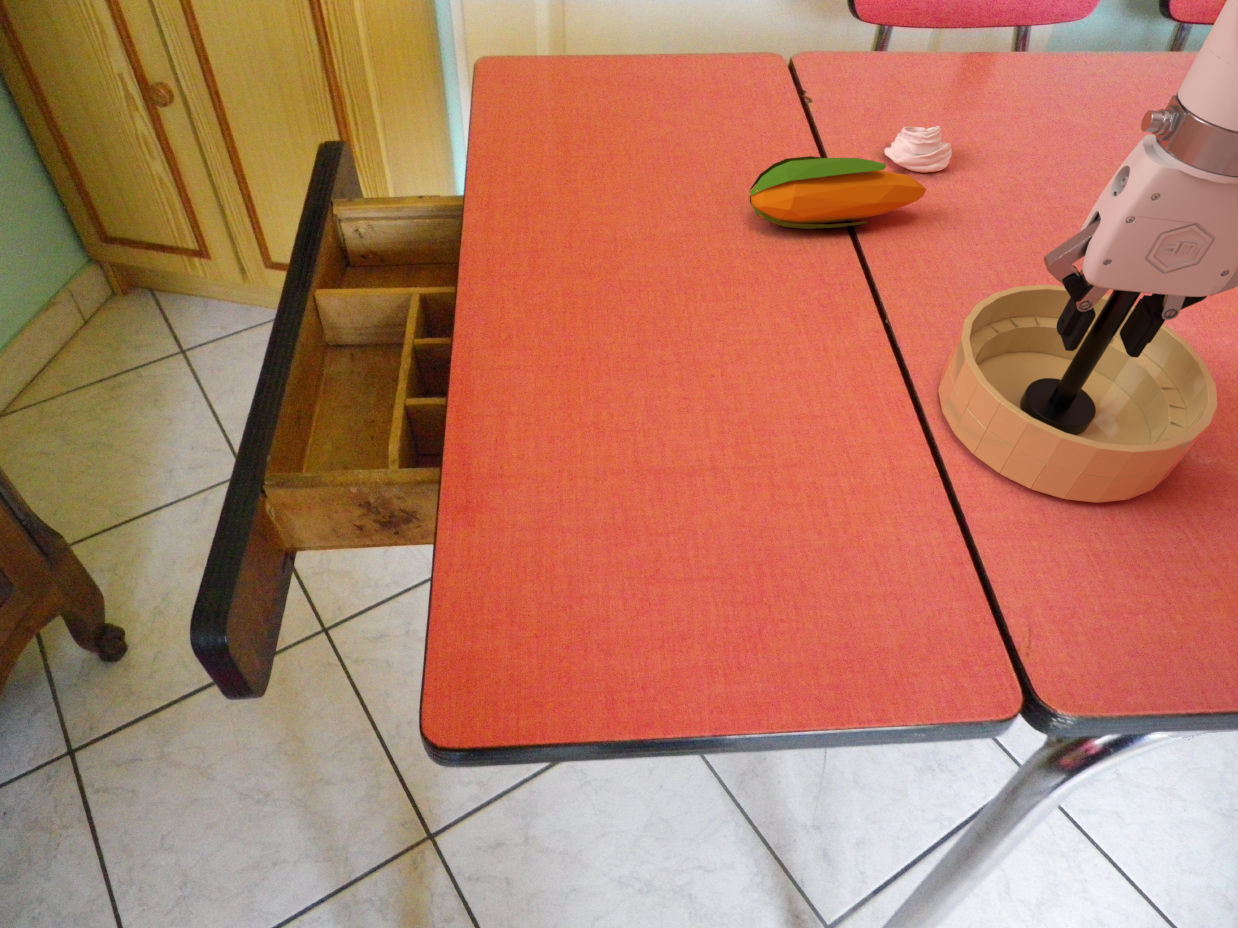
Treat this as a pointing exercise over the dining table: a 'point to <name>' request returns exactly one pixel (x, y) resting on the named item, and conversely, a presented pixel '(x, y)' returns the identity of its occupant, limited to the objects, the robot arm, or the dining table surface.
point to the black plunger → (1077, 373)
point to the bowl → (1119, 386)
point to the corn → (829, 191)
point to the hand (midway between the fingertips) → (1097, 341)
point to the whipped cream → (920, 149)
